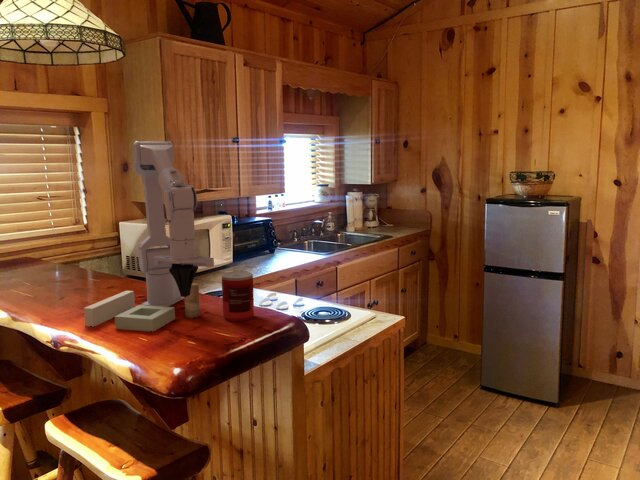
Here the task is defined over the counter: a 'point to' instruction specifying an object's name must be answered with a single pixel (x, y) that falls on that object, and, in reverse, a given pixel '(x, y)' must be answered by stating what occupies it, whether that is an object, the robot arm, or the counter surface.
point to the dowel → (192, 302)
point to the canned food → (237, 296)
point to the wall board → (108, 308)
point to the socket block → (145, 318)
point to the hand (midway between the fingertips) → (185, 295)
